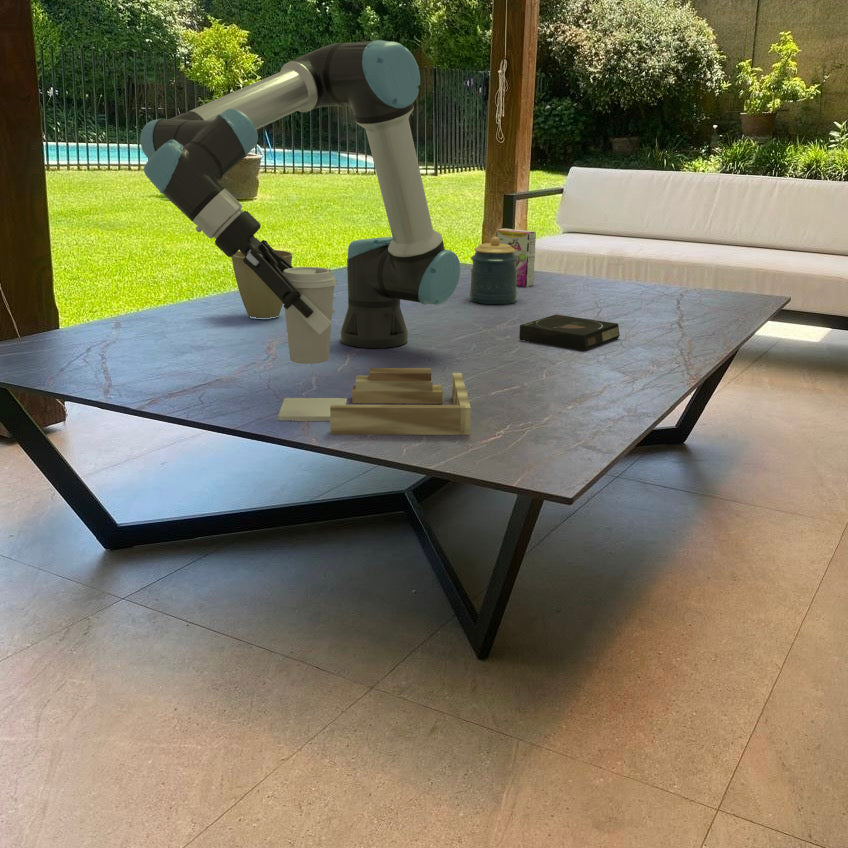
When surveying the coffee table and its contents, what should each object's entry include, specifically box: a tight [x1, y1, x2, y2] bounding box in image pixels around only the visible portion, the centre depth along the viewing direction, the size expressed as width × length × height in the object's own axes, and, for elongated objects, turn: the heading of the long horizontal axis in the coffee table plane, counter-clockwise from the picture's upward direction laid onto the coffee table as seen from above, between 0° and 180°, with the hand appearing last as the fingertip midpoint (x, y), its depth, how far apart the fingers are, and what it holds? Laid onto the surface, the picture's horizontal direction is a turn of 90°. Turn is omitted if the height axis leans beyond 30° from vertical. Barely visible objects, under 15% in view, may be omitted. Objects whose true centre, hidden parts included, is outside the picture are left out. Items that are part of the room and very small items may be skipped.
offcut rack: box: [329, 372, 472, 436], centre depth 166 cm, size 22×22×4 cm
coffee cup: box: [283, 266, 338, 365], centre depth 162 cm, size 10×10×15 cm
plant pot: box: [231, 249, 293, 318], centre depth 242 cm, size 15×15×16 cm
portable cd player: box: [518, 313, 621, 352], centre depth 224 cm, size 16×17×4 cm
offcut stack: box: [351, 367, 444, 405], centre depth 175 cm, size 4×16×5 cm, turn 92°
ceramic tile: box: [277, 397, 348, 422], centre depth 168 cm, size 11×11×1 cm
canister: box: [469, 236, 518, 305], centre depth 267 cm, size 13×13×18 cm
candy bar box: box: [496, 228, 537, 288], centre depth 293 cm, size 11×5×16 cm, turn 58°
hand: (327, 322), depth 163 cm, fingers closed on coffee cup, 9 cm apart
